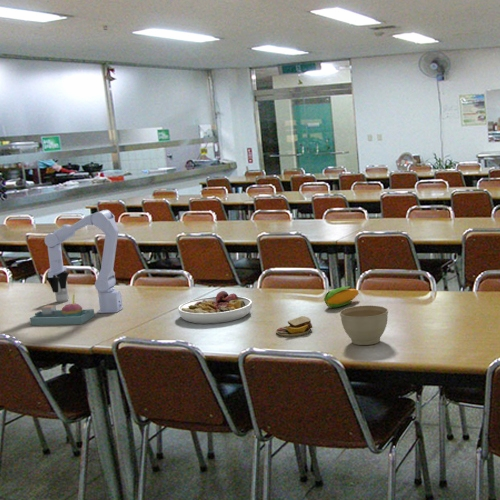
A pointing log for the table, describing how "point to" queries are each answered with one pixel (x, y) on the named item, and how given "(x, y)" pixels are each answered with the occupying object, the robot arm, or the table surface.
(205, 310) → the bowl
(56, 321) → the tray
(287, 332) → the toy sandwich meal
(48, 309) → the tin
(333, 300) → the corn
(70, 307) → the donut with candle
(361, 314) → the planter bowl
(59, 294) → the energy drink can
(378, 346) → the table surface
